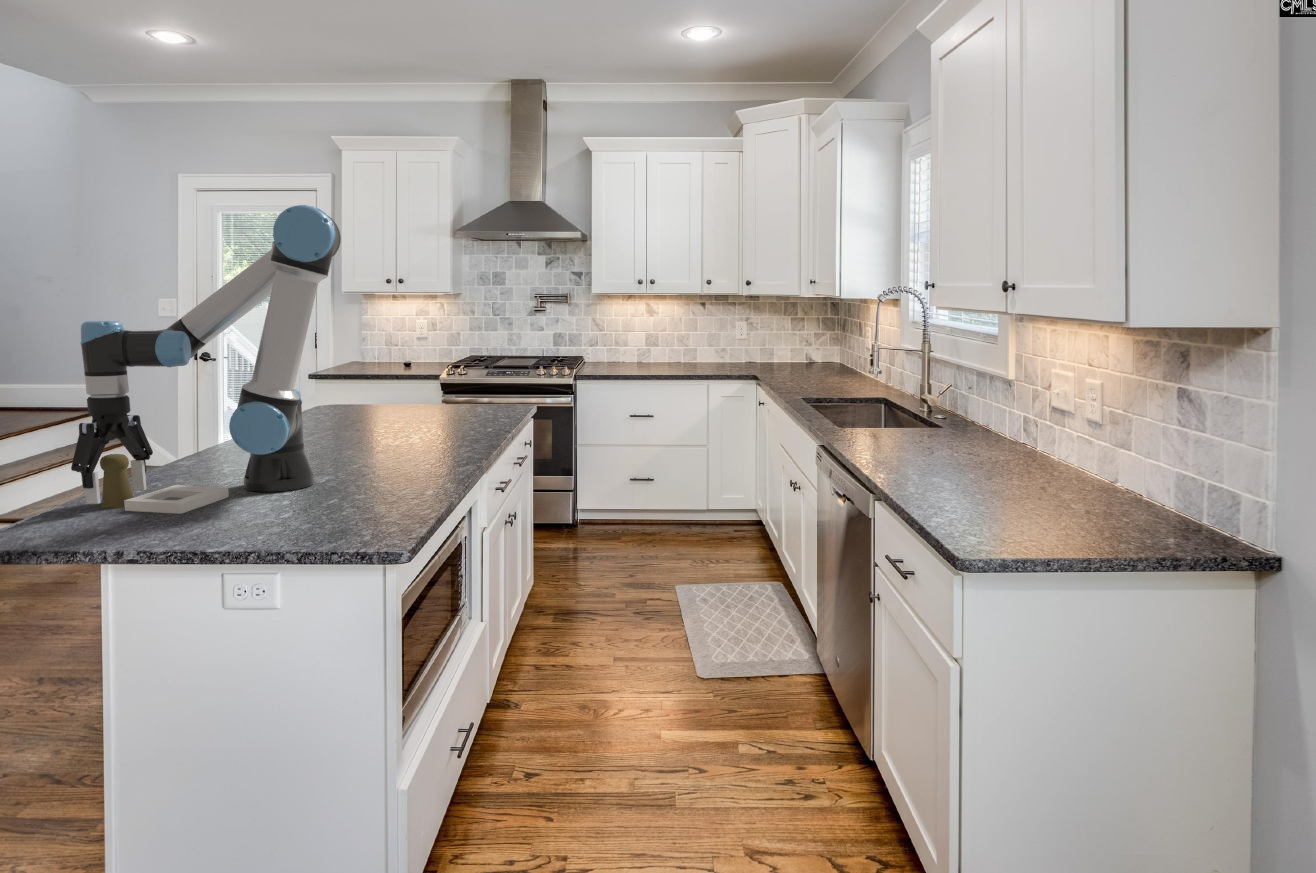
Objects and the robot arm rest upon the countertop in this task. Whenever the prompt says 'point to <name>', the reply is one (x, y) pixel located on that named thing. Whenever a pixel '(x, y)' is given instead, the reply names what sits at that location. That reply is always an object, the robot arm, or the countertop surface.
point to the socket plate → (176, 499)
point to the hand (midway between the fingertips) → (117, 496)
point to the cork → (115, 481)
